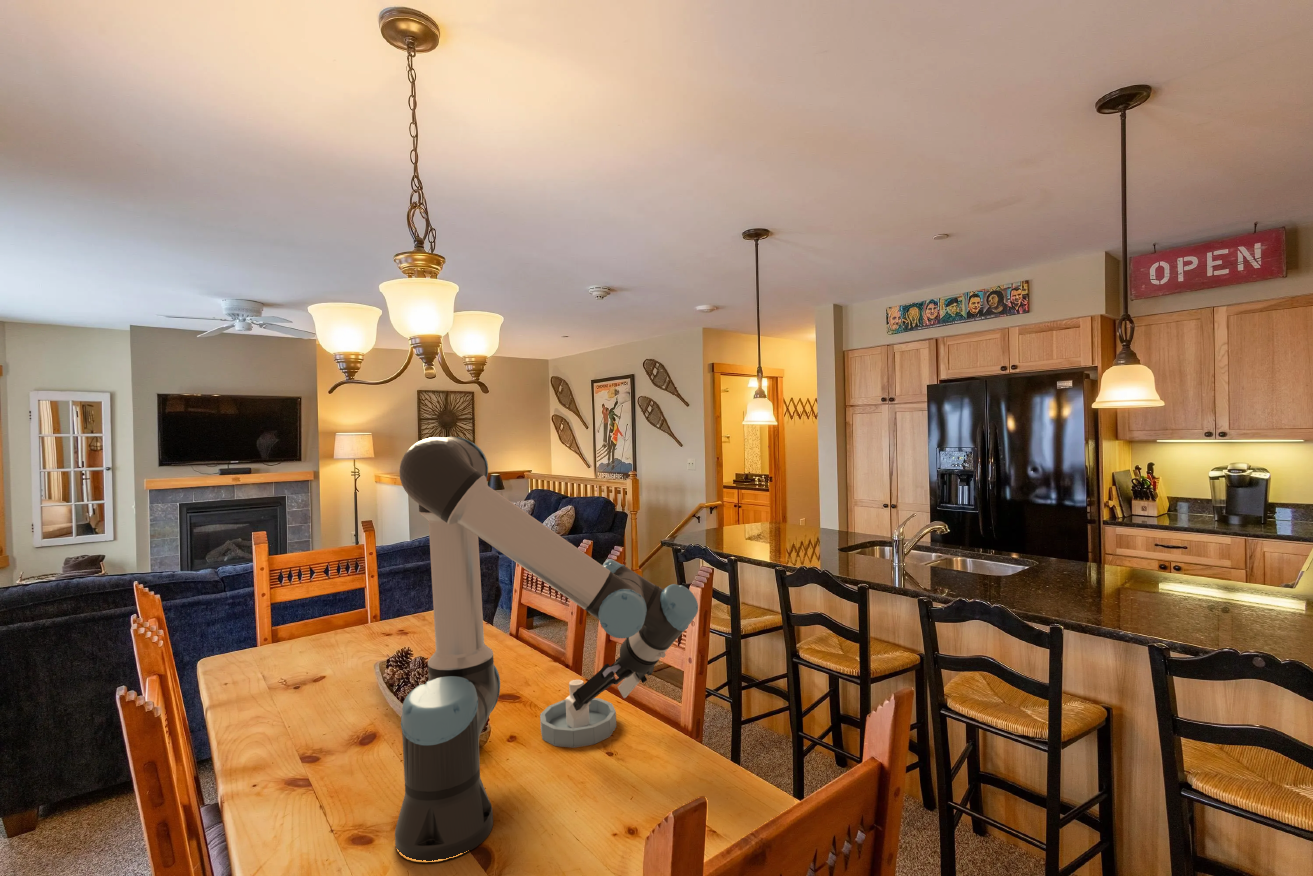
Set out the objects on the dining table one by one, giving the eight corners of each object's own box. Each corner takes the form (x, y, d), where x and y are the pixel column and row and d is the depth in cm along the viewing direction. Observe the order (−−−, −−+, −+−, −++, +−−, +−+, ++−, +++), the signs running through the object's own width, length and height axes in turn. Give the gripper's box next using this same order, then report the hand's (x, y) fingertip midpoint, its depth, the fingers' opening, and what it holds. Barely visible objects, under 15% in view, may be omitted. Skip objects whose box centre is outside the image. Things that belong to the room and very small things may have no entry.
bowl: (571, 755, 126) (571, 737, 126) (526, 731, 137) (526, 715, 137) (630, 726, 137) (629, 710, 137) (584, 706, 148) (583, 691, 148)
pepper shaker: (574, 731, 134) (573, 687, 134) (565, 725, 137) (563, 682, 137) (590, 725, 137) (589, 682, 137) (581, 719, 140) (579, 677, 140)
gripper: (606, 682, 111) (558, 741, 122) (697, 645, 129) (649, 699, 140) (586, 647, 115) (541, 707, 126) (677, 615, 133) (631, 669, 143)
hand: (598, 702), depth 133 cm, fingers open, 13 cm apart
